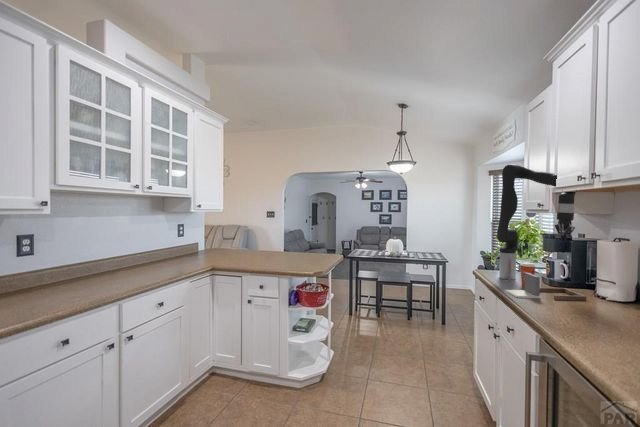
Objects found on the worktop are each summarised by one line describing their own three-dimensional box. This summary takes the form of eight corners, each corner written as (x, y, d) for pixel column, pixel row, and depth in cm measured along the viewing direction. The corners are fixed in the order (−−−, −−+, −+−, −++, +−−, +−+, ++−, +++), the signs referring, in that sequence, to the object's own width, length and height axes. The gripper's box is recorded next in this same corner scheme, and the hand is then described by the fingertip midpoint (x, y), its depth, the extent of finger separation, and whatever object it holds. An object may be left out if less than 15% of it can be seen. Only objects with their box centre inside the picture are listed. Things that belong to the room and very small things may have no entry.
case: (536, 291, 173) (536, 287, 173) (564, 291, 172) (564, 288, 171) (555, 299, 157) (555, 295, 157) (586, 300, 156) (586, 296, 156)
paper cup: (516, 285, 185) (517, 262, 184) (524, 284, 188) (525, 261, 188) (530, 288, 178) (530, 264, 177) (538, 287, 181) (538, 263, 180)
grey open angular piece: (504, 291, 172) (504, 272, 172) (527, 292, 171) (527, 272, 171) (516, 298, 160) (516, 277, 160) (540, 298, 159) (540, 277, 159)
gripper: (550, 210, 180) (548, 240, 181) (567, 212, 166) (565, 243, 168) (563, 211, 179) (561, 240, 180) (581, 212, 166) (579, 244, 167)
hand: (563, 241), depth 174 cm, fingers closed
